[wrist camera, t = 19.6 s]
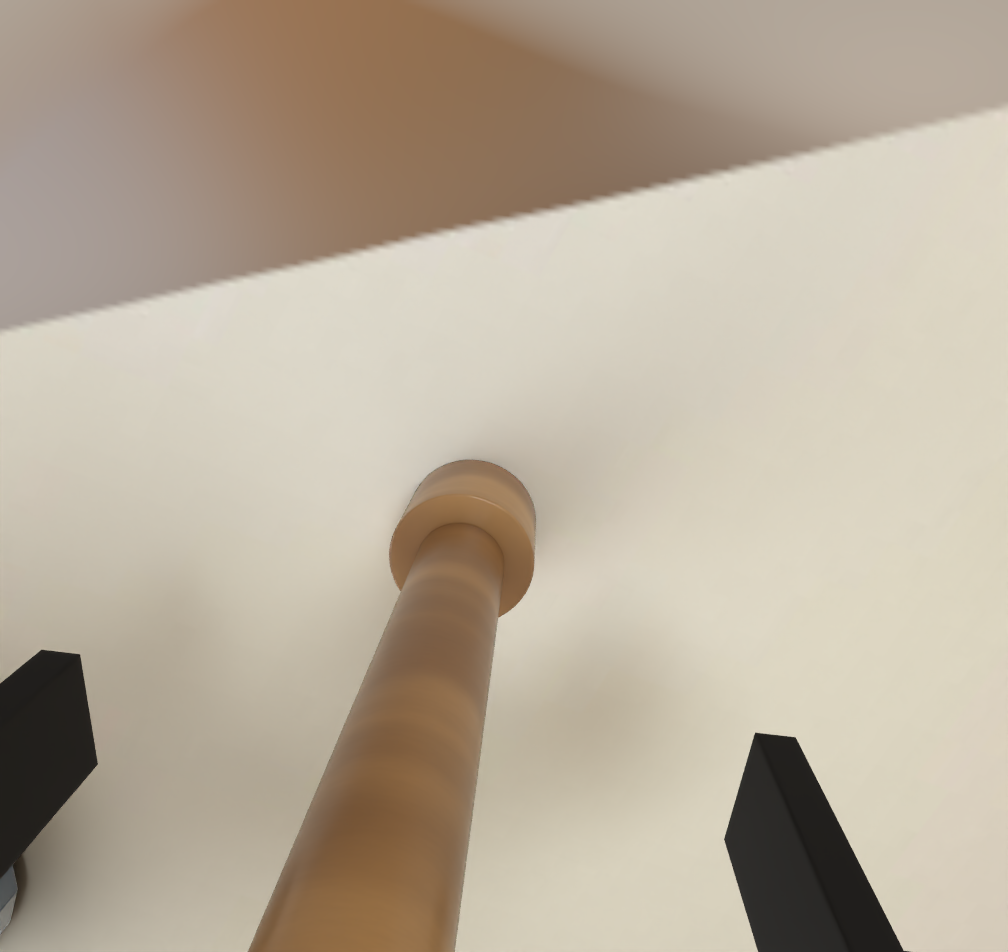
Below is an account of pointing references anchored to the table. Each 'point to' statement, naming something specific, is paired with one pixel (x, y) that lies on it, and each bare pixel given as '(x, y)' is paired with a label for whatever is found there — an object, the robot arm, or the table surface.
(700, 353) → the table surface
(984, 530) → the table surface
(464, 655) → the muddler
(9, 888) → the bowl
